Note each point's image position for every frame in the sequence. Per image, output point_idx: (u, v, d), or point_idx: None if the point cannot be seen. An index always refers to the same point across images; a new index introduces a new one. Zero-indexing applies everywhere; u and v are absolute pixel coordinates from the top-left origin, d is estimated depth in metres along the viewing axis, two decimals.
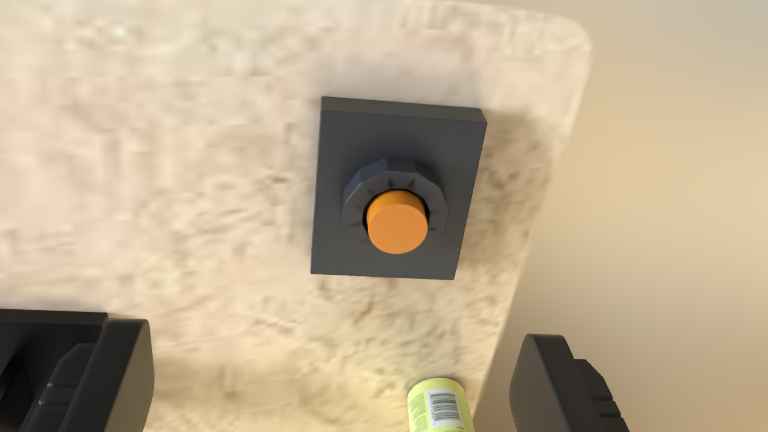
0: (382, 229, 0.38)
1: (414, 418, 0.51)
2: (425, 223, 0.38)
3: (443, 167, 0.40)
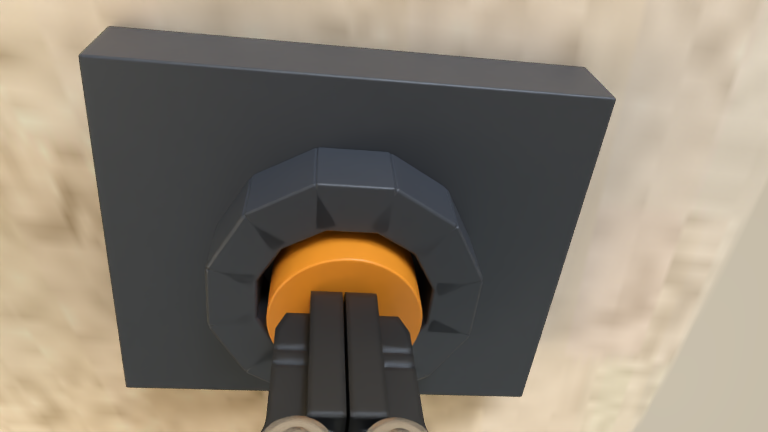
0: (348, 290, 0.14)
1: None
2: None
3: None
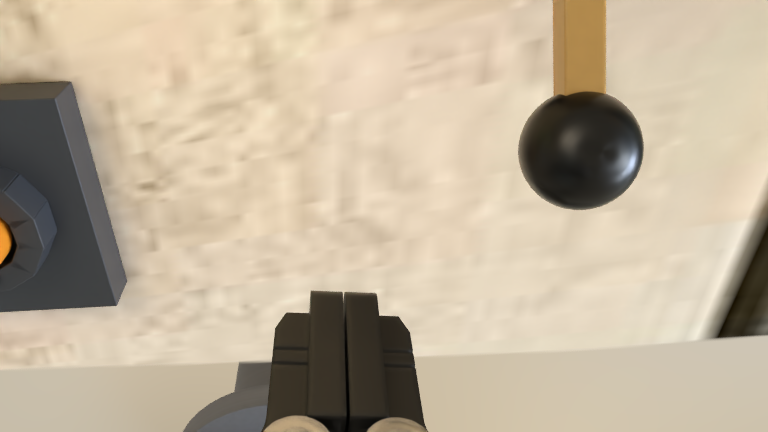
0: None
1: None
2: None
3: None
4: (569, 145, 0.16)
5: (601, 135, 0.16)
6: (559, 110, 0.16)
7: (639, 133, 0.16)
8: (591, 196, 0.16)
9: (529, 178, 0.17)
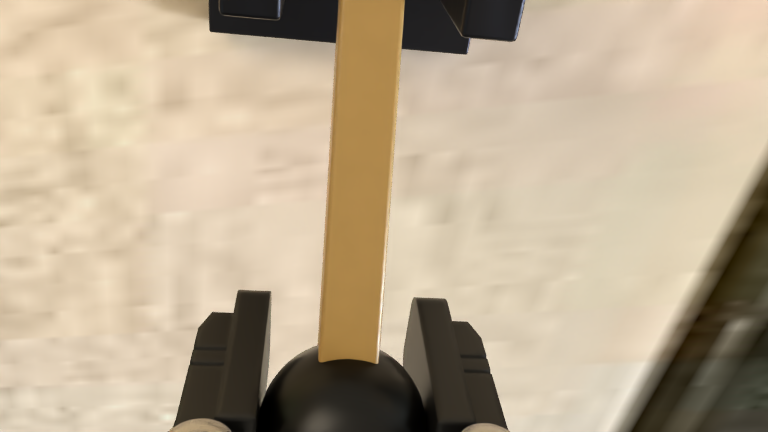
0: None
1: None
2: None
3: None
4: None
5: None
6: (301, 390, 0.11)
7: (413, 431, 0.11)
8: None
9: None
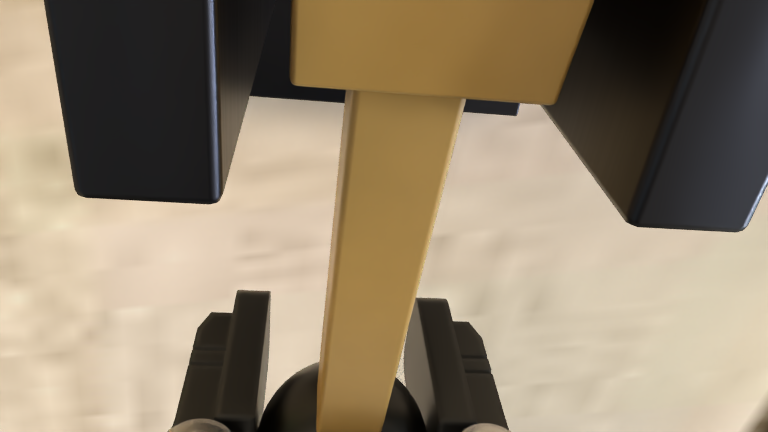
0: None
1: None
2: None
3: None
4: None
5: None
6: None
7: None
8: None
9: None
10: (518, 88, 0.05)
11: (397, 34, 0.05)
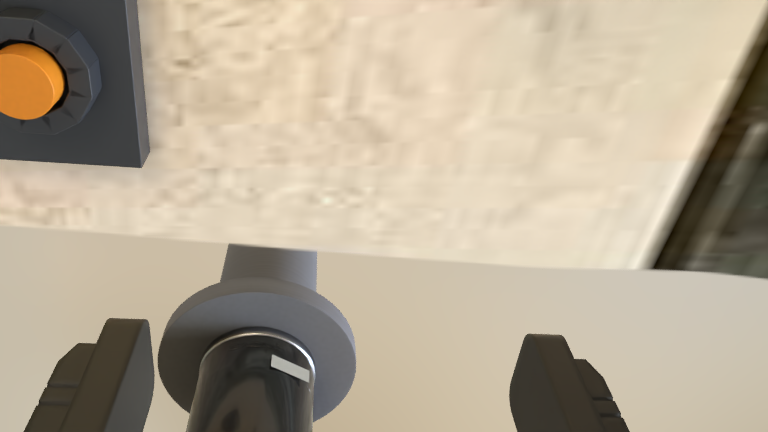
0: (36, 89, 0.33)
1: None
2: None
3: None
4: None
5: None
6: None
7: None
8: None
9: None
10: None
11: None
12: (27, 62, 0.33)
